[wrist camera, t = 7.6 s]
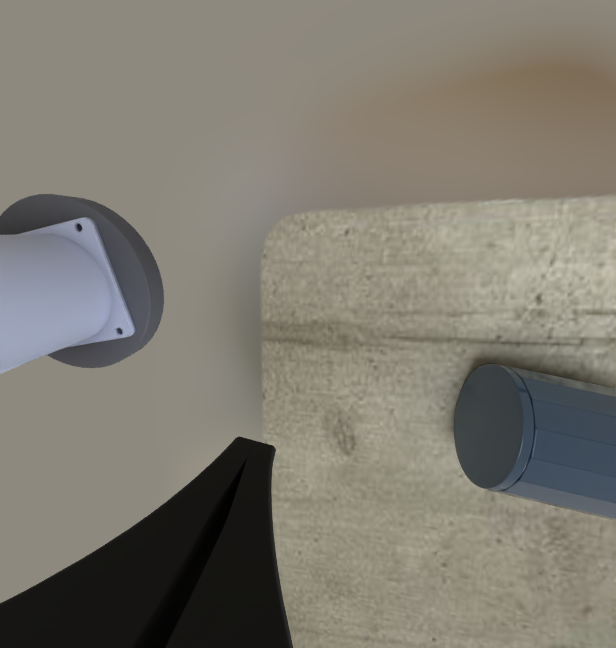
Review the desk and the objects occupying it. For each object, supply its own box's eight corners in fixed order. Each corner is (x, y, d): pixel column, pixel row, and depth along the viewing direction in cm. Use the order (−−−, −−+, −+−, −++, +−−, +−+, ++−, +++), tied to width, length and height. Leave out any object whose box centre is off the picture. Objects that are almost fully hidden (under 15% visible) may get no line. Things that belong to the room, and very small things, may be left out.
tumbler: (467, 508, 16) (647, 551, 15) (544, 450, 11) (797, 507, 11) (446, 406, 20) (581, 435, 20) (495, 339, 16) (668, 375, 16)
